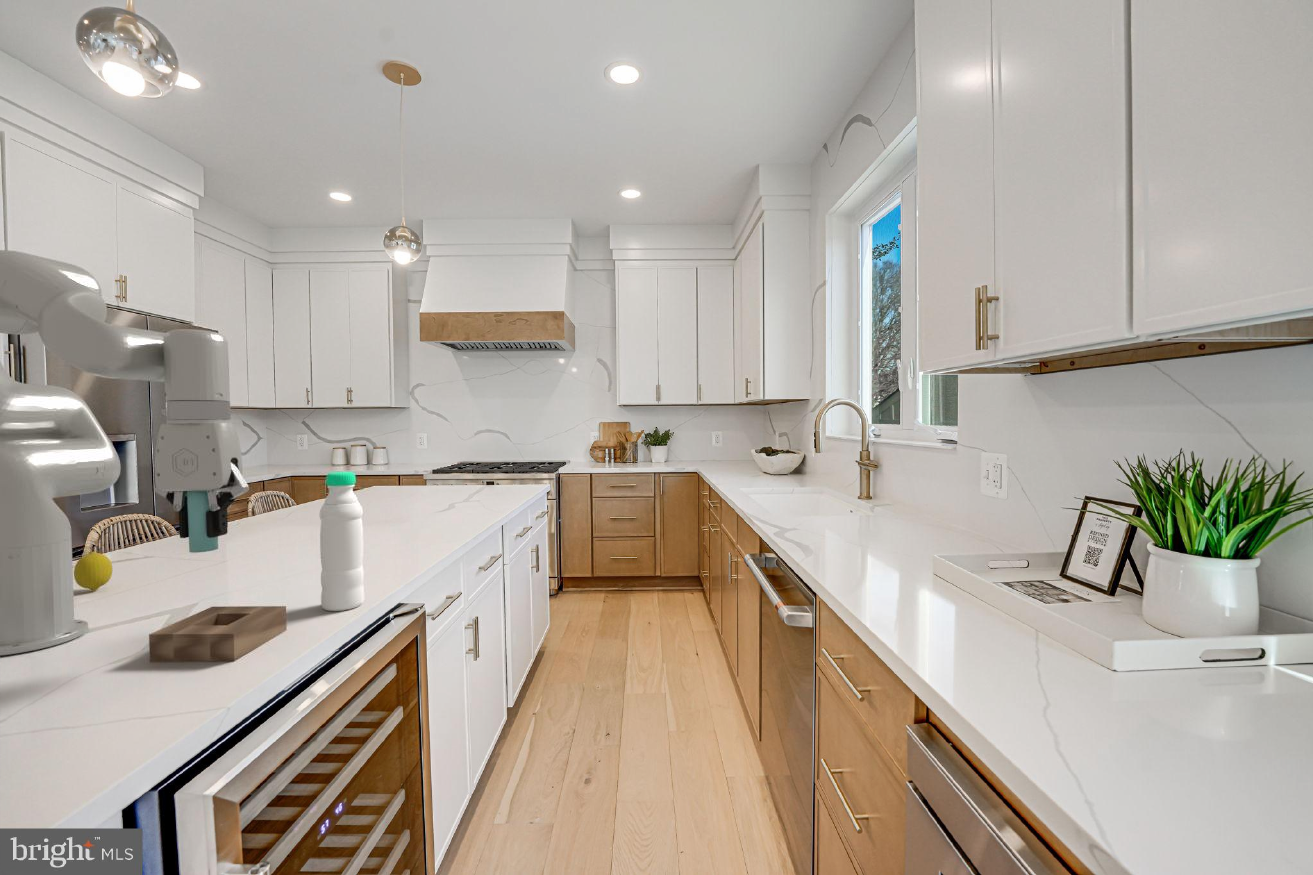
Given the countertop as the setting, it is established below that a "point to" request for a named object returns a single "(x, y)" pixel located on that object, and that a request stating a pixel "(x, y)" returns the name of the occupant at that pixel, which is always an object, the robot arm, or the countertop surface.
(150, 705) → the countertop surface
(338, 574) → the water bottle
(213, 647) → the socket block
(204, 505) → the dowel
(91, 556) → the lemon
